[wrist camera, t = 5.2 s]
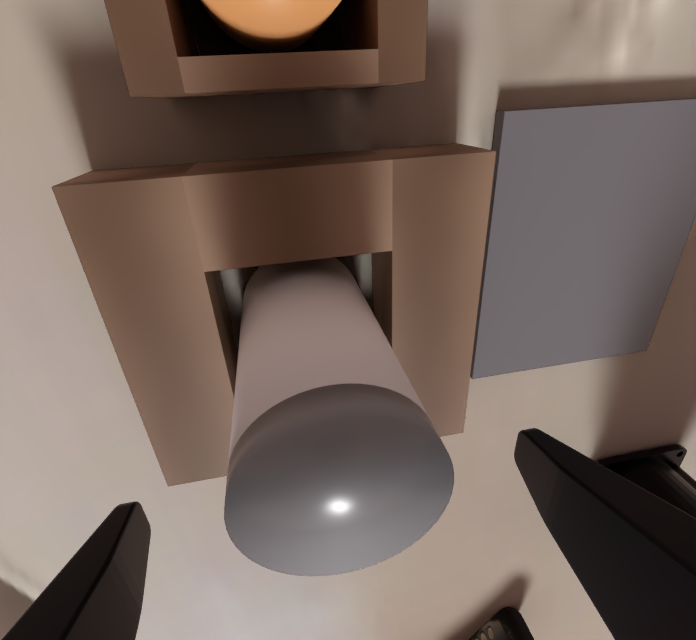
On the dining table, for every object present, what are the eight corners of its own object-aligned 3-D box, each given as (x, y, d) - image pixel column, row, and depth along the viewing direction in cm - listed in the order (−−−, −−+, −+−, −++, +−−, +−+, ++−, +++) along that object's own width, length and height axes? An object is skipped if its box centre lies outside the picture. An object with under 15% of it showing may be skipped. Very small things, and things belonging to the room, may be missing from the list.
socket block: (478, -161, 12) (588, -295, 8) (438, 391, 21) (478, 457, 17) (-27, -179, 10) (-218, -366, 6) (180, 435, 19) (160, 518, 15)
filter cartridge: (357, 243, 17) (463, 395, 8) (361, 346, 19) (446, 550, 10) (232, 256, 16) (198, 440, 7) (253, 361, 18) (246, 595, 10)
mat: (723, 96, 17) (738, 96, 16) (637, 344, 22) (646, 350, 22) (496, 111, 15) (504, 111, 15) (467, 372, 21) (472, 378, 20)
